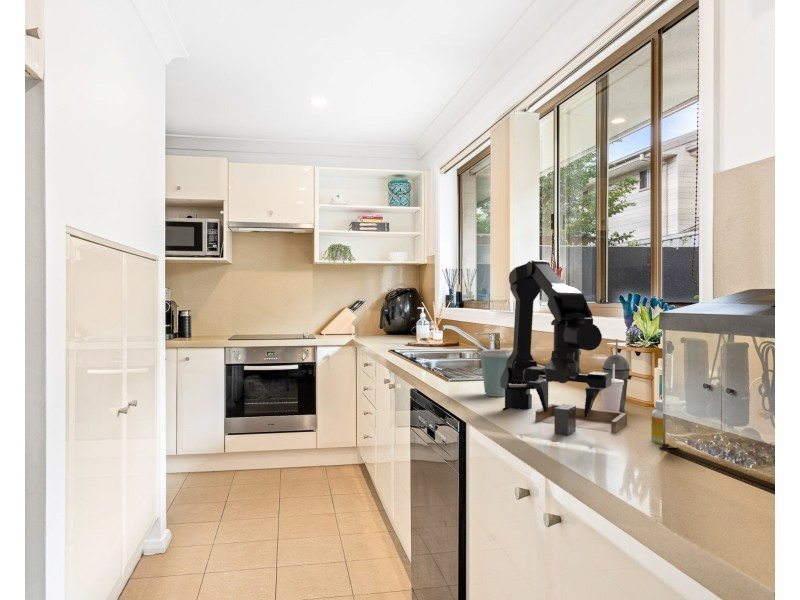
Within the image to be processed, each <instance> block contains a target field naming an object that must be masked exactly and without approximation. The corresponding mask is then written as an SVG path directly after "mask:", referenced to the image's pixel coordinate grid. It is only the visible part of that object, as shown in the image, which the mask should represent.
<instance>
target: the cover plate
mask: <svg viewBox="0 0 800 600" xmlns="http://www.w3.org/2000/svg"><path fill="white" fill-rule="evenodd" d="M559 405H560V406H558V407H556V408H555V420H554V424H553V425H554V427H553V428H554V430H553V431H554V432H553V433H554V435H557V436H564V437H568V436H570V435H571V434H573V433H575V432H576V430H577V427H576V407H577V405H573V404H566V403H563V404H562V403H561V404H559Z"/></svg>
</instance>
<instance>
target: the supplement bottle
mask: <svg viewBox="0 0 800 600" xmlns="http://www.w3.org/2000/svg"><path fill="white" fill-rule="evenodd" d="M662 400H663V399H655V401H654V403H655V404H654V405H655V409H654V410H652V411H651V432H650V433H651V435H650V437H651V438H650V440H651V442H653V443H654V444H658V445H663V402H662Z"/></svg>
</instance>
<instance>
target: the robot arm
mask: <svg viewBox="0 0 800 600" xmlns="http://www.w3.org/2000/svg"><path fill="white" fill-rule="evenodd" d="M550 265H551V264H550V262H549V261H548V260H539V259H537V260H534V259H532V260H530V261H527V263H525V264H522V265H518V266H516V267H514V268H513V269H512V270H511V271H509V274H508V275H509V276H508V283H509V288H510V289H509V290H510V292H511V294H512V295H513V297H514V300H515V305H514V306H515V307H514V308H515V309H514V321H513V322H514V325H513V327H514V328H513V343H512V344H513V346H512V353H511V355H510V356H509V358H508V359H507V361H506V368H505V369H504V372H503V374H502V376H501V379H500V385H501V388H503V389H505V396H504V407H503V408H502V409H501V410H502V411H505V412H506V410H509V409H512V410H513V409H514V410H530V409H533V405H532V404H533V395H532V394H531V390H535V391H536V393H537V394H538V397H539V400H540V403H541V406H542V407H541V408H543V410H544V412H545V413H546V412H547V411H548V405H549V383H552V382H553V383H554V382H555V383H560V384H565V383H568V382H573V383H574V382H575V383H583V384H584V383H585V384H587V385H588V387H586V388H585V389H584V390H585V403H584V408H585V411H584V413H585V418H587V417H588V415H589V413H590V410H591V409H593V408H592V407H593V405H594V403H595V400H596V398H597V396H598V395H599V393H601V391H602V390H604V389H605V388H607V387H609V386H611V385H612V378H611V375H610V374H609V373H604V372H603V371H602V372H601V371H592V372H589V373H587V374H586V373H585V374H583V373H581V372H582V371H581V370H582V369H581V368H580V359H581V358H580V356H581V354H582V351H581V350H584V351H590V352H591V351H593V350H596V349H597V348H598V347H599V346H600V344H601V343H602V339H603V335H602V332H601V330H600V328H599V327H598V326H597V325H595V324H594V318H593V313H592V310H591V309H590V306H589V304H588V301H587V299H586V297H585V295H584V294H583V292H581V291H580V290H579V289H577V288H576V287H573V286H569V285H567V284H565V283H564V281H563V280H562V279H561V278H560V276H559V275H558V274H557V273H556V272H555V270H553V268H552V267H551V266H550ZM541 290H542V291H543V293H544V294H545V296H547V299H548V300H547V303H546V305H547V307H548V310H549V311H550V313H551V315H552V316H553V318H554V319H553V320H552V321H551V322H550V325H551V326H553V350H552V351H551V357H550V360H549V361H547V363H546V365H544V367H543V366H538V362H537V361H536V360H535V359H534V357H533V355H532V354H531V352H532V335H533V334H532V333H533V319H534V318H533V317H534V315H533V314H534V301H535V300H536V298H537V297H538V295H539V294H540V293H541Z"/></svg>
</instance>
